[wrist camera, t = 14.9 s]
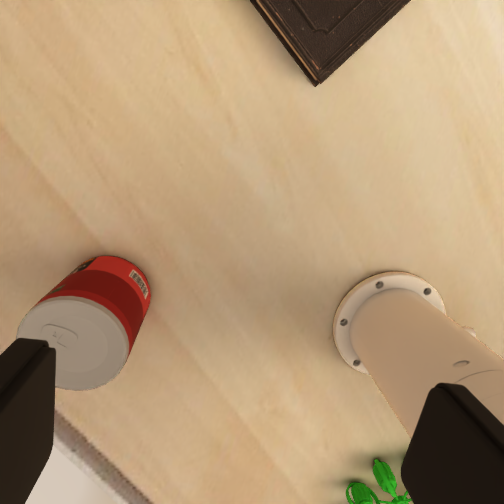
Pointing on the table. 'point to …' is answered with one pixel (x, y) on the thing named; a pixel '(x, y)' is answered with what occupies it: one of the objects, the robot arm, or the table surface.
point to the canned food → (91, 321)
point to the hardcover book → (325, 29)
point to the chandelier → (385, 482)
